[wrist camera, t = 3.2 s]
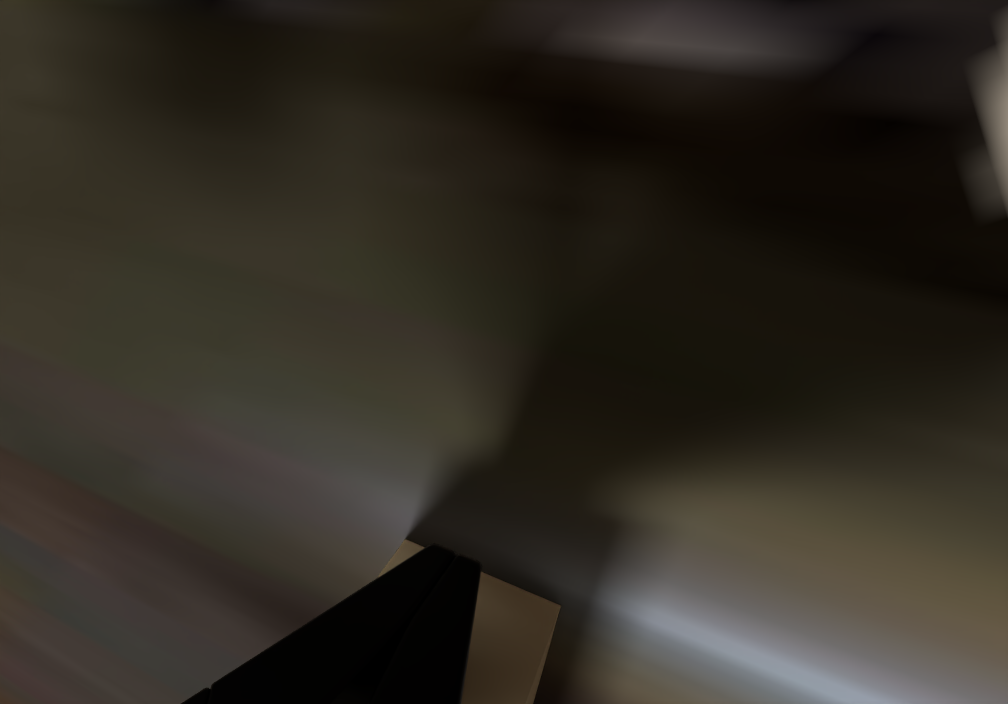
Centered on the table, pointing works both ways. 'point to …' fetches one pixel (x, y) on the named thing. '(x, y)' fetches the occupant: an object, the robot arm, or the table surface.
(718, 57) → the table surface
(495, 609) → the bar
